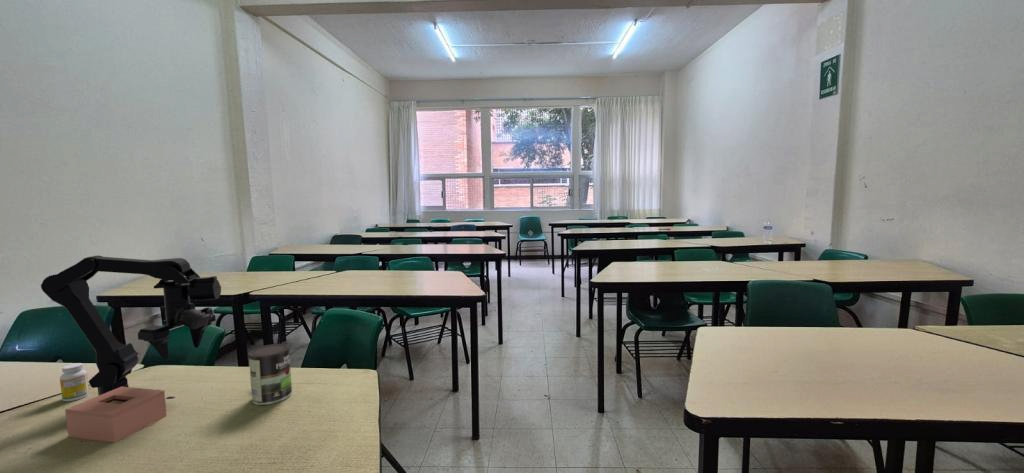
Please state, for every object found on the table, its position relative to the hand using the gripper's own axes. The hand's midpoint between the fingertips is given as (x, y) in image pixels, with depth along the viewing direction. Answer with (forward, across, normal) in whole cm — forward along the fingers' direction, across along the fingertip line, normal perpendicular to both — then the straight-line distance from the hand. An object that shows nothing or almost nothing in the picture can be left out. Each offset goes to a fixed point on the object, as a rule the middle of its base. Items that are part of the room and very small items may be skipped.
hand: (181, 353), depth 119 cm
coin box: (+12, -18, -1) cm, 22 cm away
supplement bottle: (+12, -8, +29) cm, 33 cm away
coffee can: (+12, +2, -28) cm, 31 cm away
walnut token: (+11, -18, -1) cm, 21 cm away
